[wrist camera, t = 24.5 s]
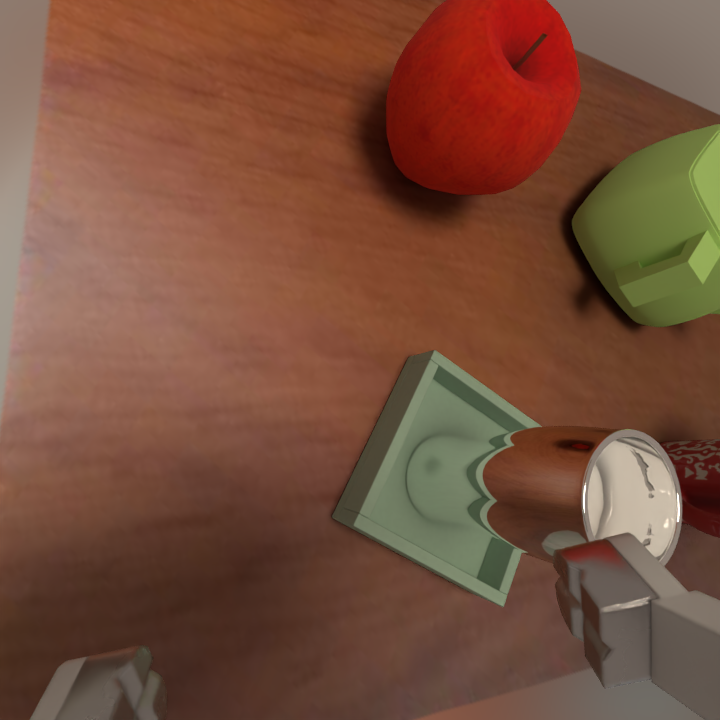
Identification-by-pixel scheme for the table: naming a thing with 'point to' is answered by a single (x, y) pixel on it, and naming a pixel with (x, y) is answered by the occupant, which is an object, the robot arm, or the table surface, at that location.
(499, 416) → the shallow green square tray
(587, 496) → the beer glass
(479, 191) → the apple
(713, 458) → the mug
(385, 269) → the table surface
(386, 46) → the table surface
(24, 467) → the table surface
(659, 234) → the teapot
